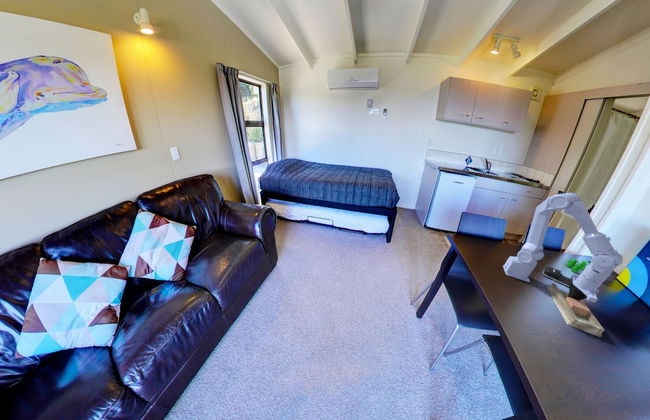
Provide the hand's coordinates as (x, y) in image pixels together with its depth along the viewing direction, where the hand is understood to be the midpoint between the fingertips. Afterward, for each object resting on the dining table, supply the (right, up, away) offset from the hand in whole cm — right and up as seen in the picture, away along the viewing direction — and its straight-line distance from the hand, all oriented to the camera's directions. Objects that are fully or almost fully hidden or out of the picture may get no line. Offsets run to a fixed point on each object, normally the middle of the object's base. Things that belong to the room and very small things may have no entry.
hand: (570, 301), depth 87 cm
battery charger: (+16, +4, +10) cm, 19 cm away
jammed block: (-2, -2, -3) cm, 4 cm away
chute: (-1, -3, -1) cm, 3 cm away
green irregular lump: (+34, +5, +23) cm, 41 cm away
